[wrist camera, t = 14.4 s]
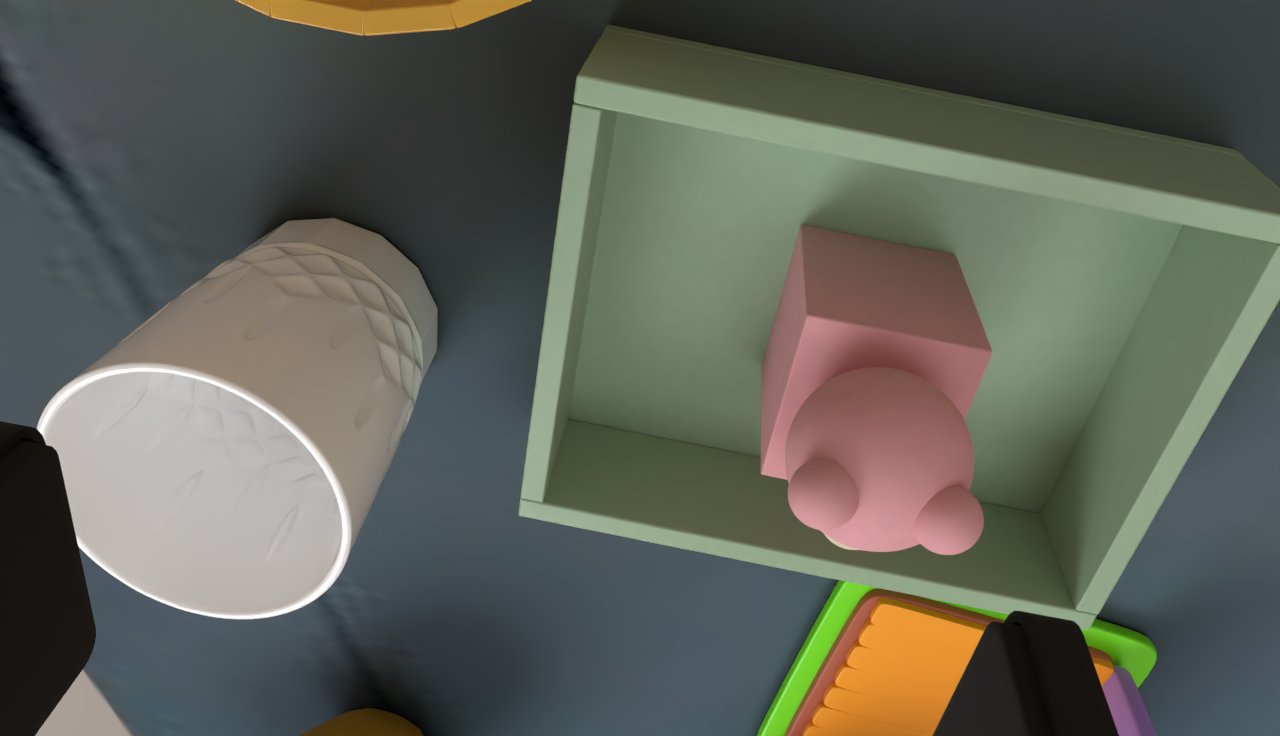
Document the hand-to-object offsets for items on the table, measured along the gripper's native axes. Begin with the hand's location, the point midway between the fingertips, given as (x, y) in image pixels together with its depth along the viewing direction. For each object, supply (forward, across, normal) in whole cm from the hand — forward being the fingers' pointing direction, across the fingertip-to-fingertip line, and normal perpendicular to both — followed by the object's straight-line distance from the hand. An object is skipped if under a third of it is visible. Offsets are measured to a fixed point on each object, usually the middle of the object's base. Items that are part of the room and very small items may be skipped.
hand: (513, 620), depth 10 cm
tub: (+20, -7, +6) cm, 22 cm away
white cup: (+21, +9, +10) cm, 25 cm away
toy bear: (+20, -7, +6) cm, 22 cm away
